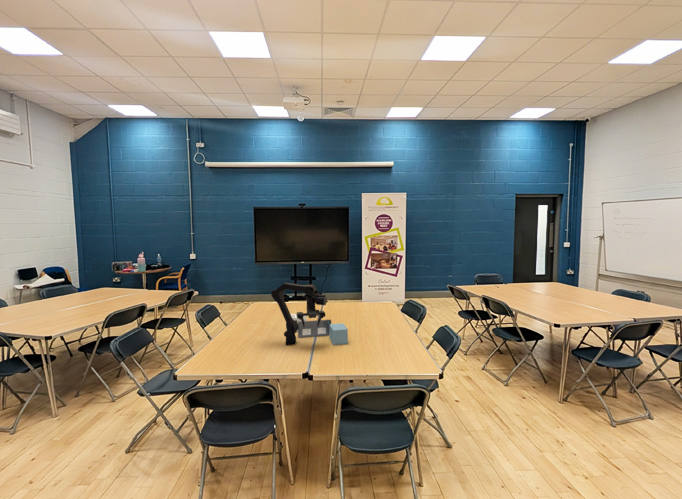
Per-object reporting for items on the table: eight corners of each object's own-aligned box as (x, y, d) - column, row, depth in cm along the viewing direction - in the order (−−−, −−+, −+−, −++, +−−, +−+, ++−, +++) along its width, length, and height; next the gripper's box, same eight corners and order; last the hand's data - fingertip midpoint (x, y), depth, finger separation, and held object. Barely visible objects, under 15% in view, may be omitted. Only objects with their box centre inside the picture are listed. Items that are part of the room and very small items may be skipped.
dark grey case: (300, 348, 204) (300, 330, 203) (297, 336, 228) (297, 320, 227) (345, 344, 210) (345, 327, 210) (337, 333, 234) (337, 317, 234)
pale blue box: (333, 345, 209) (333, 330, 208) (329, 337, 222) (329, 324, 222) (347, 343, 211) (347, 329, 210) (343, 336, 224) (343, 323, 224)
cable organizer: (284, 332, 238) (284, 317, 237) (288, 327, 248) (288, 313, 247) (304, 332, 236) (303, 317, 235) (307, 328, 246) (307, 313, 246)
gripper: (298, 307, 197) (298, 332, 198) (327, 306, 202) (327, 330, 203) (296, 303, 208) (296, 326, 209) (323, 302, 212) (323, 324, 214)
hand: (310, 327), depth 208 cm, fingers open, 9 cm apart
